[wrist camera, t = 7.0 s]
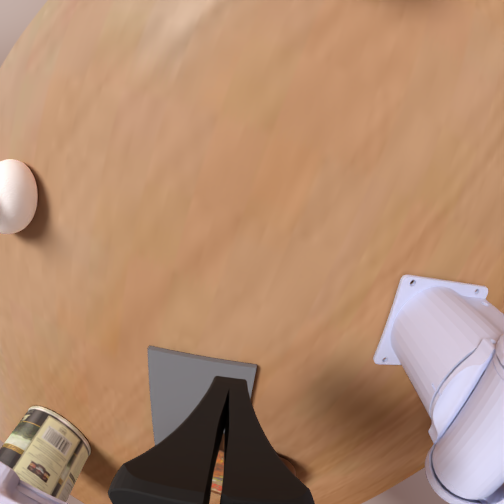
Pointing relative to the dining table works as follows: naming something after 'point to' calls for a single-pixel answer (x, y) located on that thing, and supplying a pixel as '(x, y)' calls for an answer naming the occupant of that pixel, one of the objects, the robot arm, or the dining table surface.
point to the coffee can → (46, 452)
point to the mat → (185, 384)
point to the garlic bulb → (16, 196)
